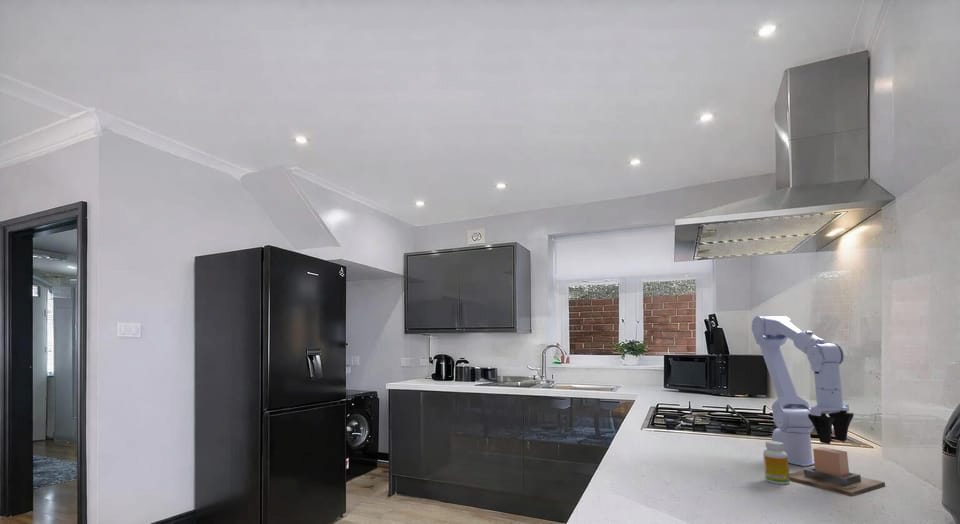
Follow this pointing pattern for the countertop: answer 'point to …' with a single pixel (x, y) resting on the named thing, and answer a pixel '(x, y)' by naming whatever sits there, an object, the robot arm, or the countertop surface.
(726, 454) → the countertop surface
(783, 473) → the supplement bottle
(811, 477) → the socket board
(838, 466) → the plug block
